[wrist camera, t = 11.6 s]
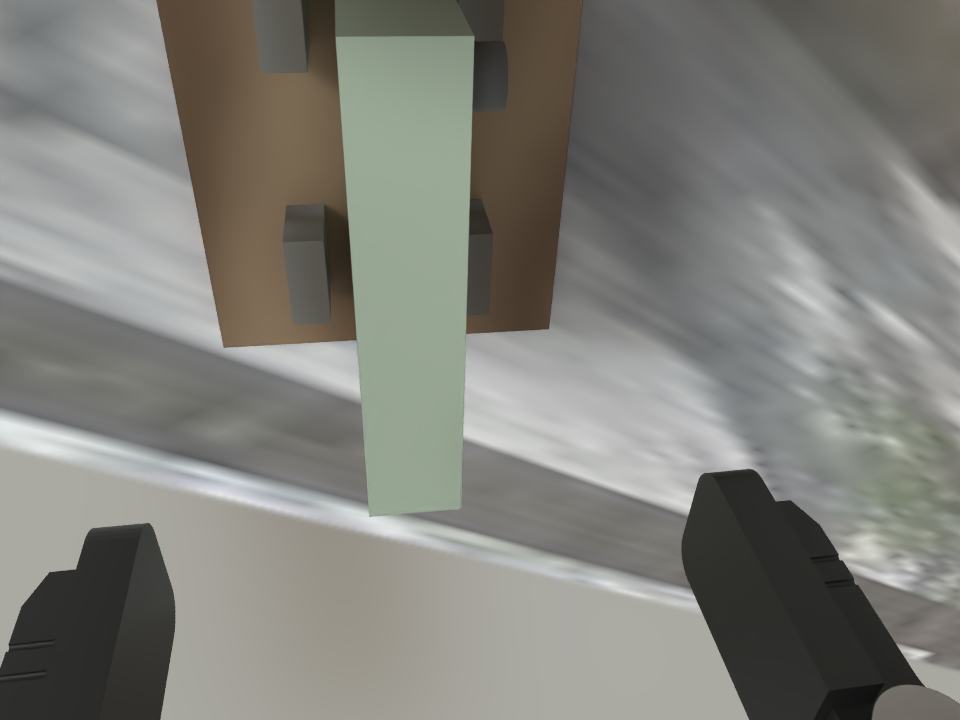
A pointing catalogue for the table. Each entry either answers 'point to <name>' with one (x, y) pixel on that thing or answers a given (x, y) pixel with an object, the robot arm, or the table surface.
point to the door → (411, 233)
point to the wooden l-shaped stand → (321, 170)
